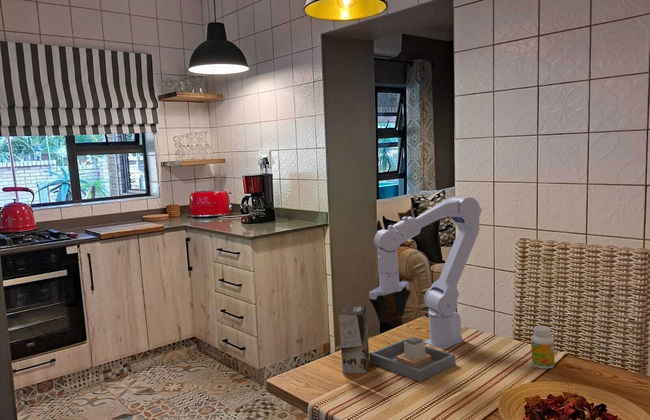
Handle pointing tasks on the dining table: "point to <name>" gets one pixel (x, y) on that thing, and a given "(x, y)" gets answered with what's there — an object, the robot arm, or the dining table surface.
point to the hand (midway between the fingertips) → (391, 318)
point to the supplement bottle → (542, 348)
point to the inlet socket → (402, 359)
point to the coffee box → (354, 339)
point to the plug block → (414, 349)
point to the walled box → (388, 361)
